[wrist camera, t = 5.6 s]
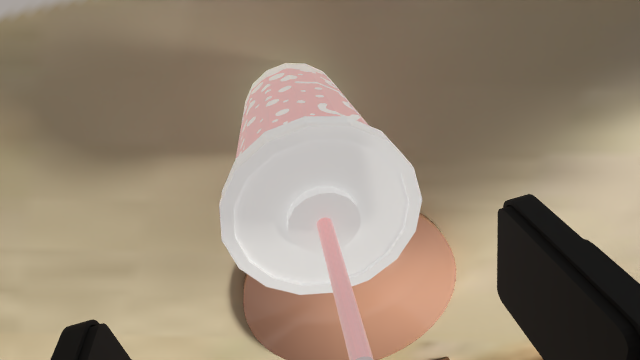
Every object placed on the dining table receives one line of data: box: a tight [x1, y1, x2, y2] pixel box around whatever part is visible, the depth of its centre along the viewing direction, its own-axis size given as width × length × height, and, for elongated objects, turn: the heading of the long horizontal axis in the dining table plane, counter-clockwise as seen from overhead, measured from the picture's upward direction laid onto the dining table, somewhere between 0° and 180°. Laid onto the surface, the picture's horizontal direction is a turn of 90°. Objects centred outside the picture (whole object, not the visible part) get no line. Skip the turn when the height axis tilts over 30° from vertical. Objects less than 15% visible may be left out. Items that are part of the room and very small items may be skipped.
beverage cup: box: [219, 63, 422, 360], centre depth 15 cm, size 6×6×14 cm
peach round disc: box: [243, 213, 456, 360], centre depth 27 cm, size 13×13×1 cm
